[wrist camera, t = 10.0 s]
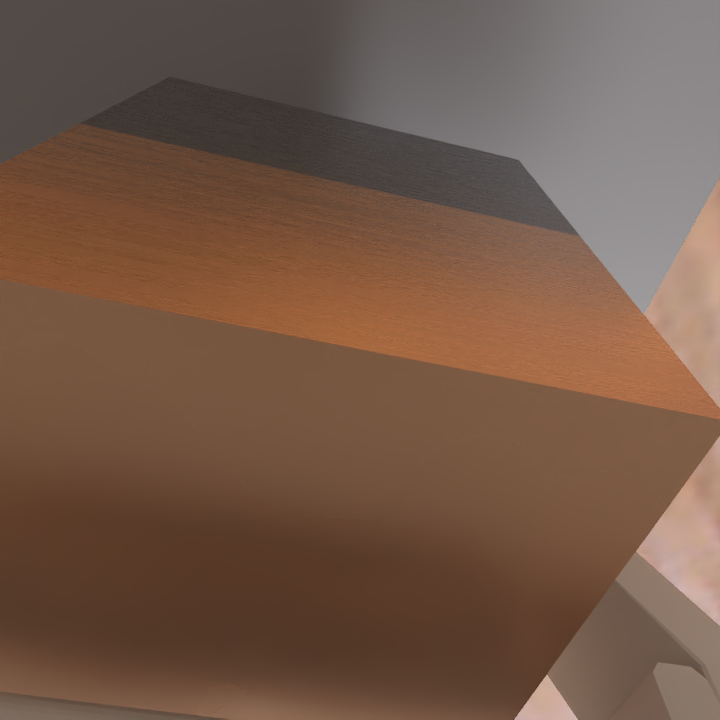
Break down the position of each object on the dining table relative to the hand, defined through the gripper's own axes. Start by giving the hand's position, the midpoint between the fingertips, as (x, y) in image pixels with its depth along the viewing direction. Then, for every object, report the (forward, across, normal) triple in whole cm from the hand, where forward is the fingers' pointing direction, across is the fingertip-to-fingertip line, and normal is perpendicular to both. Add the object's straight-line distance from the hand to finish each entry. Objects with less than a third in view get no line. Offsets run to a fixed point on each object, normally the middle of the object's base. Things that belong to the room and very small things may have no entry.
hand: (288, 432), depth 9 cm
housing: (+2, 0, 0) cm, 2 cm away
